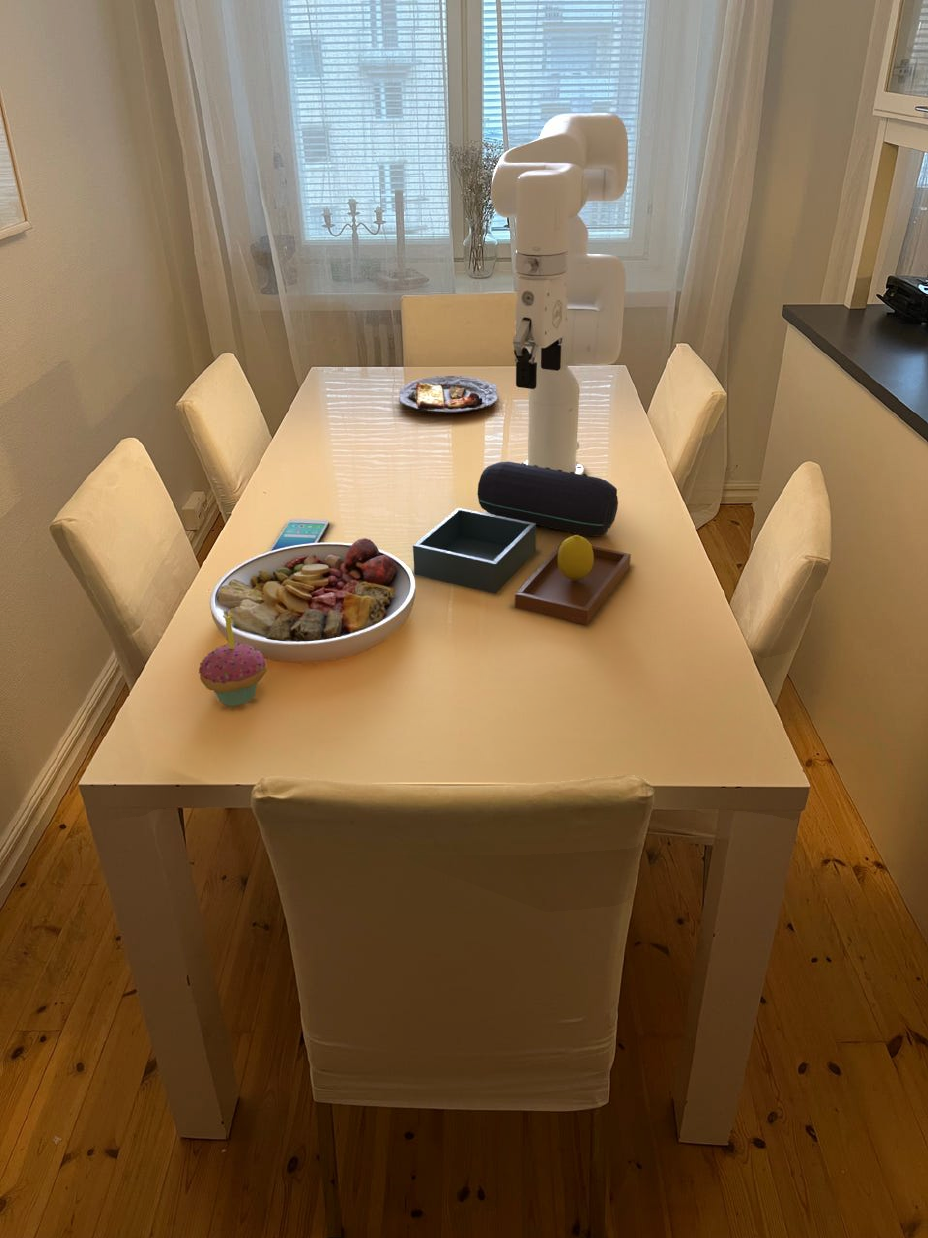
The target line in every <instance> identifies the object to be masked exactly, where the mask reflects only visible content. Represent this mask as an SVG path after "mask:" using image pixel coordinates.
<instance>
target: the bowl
mask: <svg viewBox="0 0 928 1238" xmlns="http://www.w3.org/2000/svg"><path fill="white" fill-rule="evenodd" d="M414 576H415V575H414V573H413V572H412V570H411V568H409V567H408V566H407V564H405V563H404V561H402V560H400V559H399V558H398V557H397V556H395V555H392V554H391V553H389V552H386V551H384V550H382V549H379V548H378V546H377V545H376V544H375V543H374V541H372V540H371V539H369V538H367V537H366V538H365V537H364V538H359V539H357V540H355V541H354V542H352V543H348V542H347V543H346V542H320V543H310V544H302V545H295V546H290V547H285V548H280V549H277V550H273V551H270V552H269V551H267V552H263V553H261V554H258V555H255V556H253V557H251V558H249V559H247V560H245V561H243V562H241V563H239V564H237V565H235V566H234V567H233V568H232V569H230V570H229V571H228V572H226V573H225V574H224V575H223V576H222V577H221V578H220V579H219V580H218V581H217V583H216V584H215V586H214V587H213V589H212V591H211V594H210V598H209V608H210V613H211V617H212V620H213V623H214V624H215V626H216V628H217V630H218V631H219V632H220V634H221V635H222V636H223V637H224V638H225V639H226V641H228V635H227V628H226V621H225V617H226V616H227V614H226V610H228V616H230V619H231V626H232V633H233V640H234V643H240V644H244V645H248V646H250V647H251V646H253V647H254V648H256V650H258V651H261V654H262V655H263V657H264V659H265V660H268V661H273V662H278V663H288V664H314V663H315V664H316V663H324V662H329V661H336V660H340V659H345V658H348V657H352V656H354V655H358V654H360V653H363V652H365V651H368V650H369V649H372V648H374V647H376V646H378V645H380V644H381V643H383V642H385V641H386V640H387V639H389V638H390V637H392V636H393V635H394V634H395V633H396V632H397V631H398V630H399V629H401V627H402V626H403V625H404V624H405V622H407V620H408V618H409V616H410V614H411V612H412V610H413V608H414V604H415V601H416V594H417V593H416V589H417V588H416V580H415V577H414Z"/></svg>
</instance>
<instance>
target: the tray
mask: <svg viewBox="0 0 928 1238" xmlns="http://www.w3.org/2000/svg"><path fill="white" fill-rule="evenodd" d="M565 540H566V539H565ZM565 540H563V541H562V542H560V544H559V545H558V546H557V547H556V548H555V549H554V550H553V551H552V553H550V555H549V556H548V557H547V558H546V559H545V560H544V561H543V562H542V563H541V564H540V566H539V567H538V568H537V569H536V570H535V571H534V572H533V573H532V575H530V577H528V579H527V580H526V581H525V582H524V583H523V584H522V585H521V587H520V588H519V589H518V590H517V591H515V593H514V608H515V609H518V610H522V611H526V612H531V613H534V614H539V615H542V616H547V617H551V618H555V619H558V620H559V619H560V620H563V621H568V622H572V623H575V624H580V625H583V626H587V625H588V624H589V622H591V620H592V619H593V618H594V616H595V615H596V613H597V612H598V611H599V609H600V608H601V607H602V605H603V604H604V603H605V601H606V600H607V598H608V597H609V596H610V594H611V593H612V592H613V590H615V588H616V586H617V585H618V584H619V582H620V581H621V580H622V578H623V577H624V576H625V574H626V573H627V572H628V570H629V569H630V568H631V556H632V555H631V553H629V552H623V551H619V550H614V549H608V548H604V547H599V546H594V545H591V546H592V549H593V555H594V562H593V566H592V569H591V571H590V573H589V574H588V575H587V576H586V577H584V578H582V579H580V580H577V581H576V582H574V581H572V580H571V579H568V578H566V577H565V576H564V575H563V574H562V573H561V571H560V569H559V567H558V552H559V549H560V546H561V544H562V543H563V542H564V541H565Z"/></svg>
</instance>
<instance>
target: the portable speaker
mask: <svg viewBox="0 0 928 1238" xmlns="http://www.w3.org/2000/svg"><path fill="white" fill-rule="evenodd" d="M476 494H477V499H478V504H479V505H480V507H481V509H483V510H484V511H485V512H486V513H487V514H492V515H497V516H501V517H506V518H511V519H516V520H521V521H526V522H531V523H536V526H539V527H543V528H544V527H545V528H549V529H554V530H558V531H562V532H567V533H572V534H576V535H581V536H586V537H603V536H605V535H606V534H607V532H608V530H609V529H610V528H611V526H612V525H613V523H614V522H615V519H616V516H617V511H618V507H619V500H618V489H617V488H616V487H615V486H614V485H613V484H611V482H609V481H607V480H606V479H603V478H600V477H596V476H589V475H588V474H586V473H584V474H583V475H580V474H575V473H574V472H570V473H569V472H563V471H562V470H559V469H558V470H552V469H550V468H548V467H546V468H542V467H538V466H537V465H534V466H531V465H526V464H525V463H524V462H521V463H519V462H515V461H499V462H496V463H493V464H491V465H488V466H487V467H486V468H484V469H483V471H482V473H481V474H480V477H479V481H478V484H477V493H476Z"/></svg>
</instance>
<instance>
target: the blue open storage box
mask: <svg viewBox="0 0 928 1238" xmlns="http://www.w3.org/2000/svg"><path fill="white" fill-rule="evenodd" d="M536 543H537V525H536V523H531V522H526V521H521V520H516V519H511V518H506V517H501V516H497V515H493V514H490V513H488V512H482V511H477V510H472V509H467V508H461V507H457V508H456V509H455V510H454V511H452V512H451V513H450V514H449V515H448V516H446V517H445V518H444V519H443V520H441V521H440V522H439V523H437V525H436V526H434V527H433V528H432V529H431V530H430V531H428V532H427V533H426V534H425V535H424V536H422V537H421V538H420V539H419V540H418V541H416V542H415V543H414V544H413V545H412V553H413V554H412V555H413V556H412V557H413V558H412V559H413V572H414V573H413V576H418V577H424V578H427V579H430V580H431V579H432V580H435V581H439V582H444V583H448V584H452V585H456V586H461V587H464V588H468V589H473V590H477V591H481V592H486V593H490V594H493V595H496V594H497V593H498V592H499V591H500V590H501V589H502V588H503V587H504V586H505V585H506V584H507V582H509V581H510V580H511V579H512V578H513V576H515V574H516V573H517V572H518V571H519V570H520V569H521V568H522V567H523V566H524V565H525V564H526V563H527V562H528V560H529V559H531V557H532V556H533V555H534V554H535V553H536V548H537V546H536V545H537V544H536Z"/></svg>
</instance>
